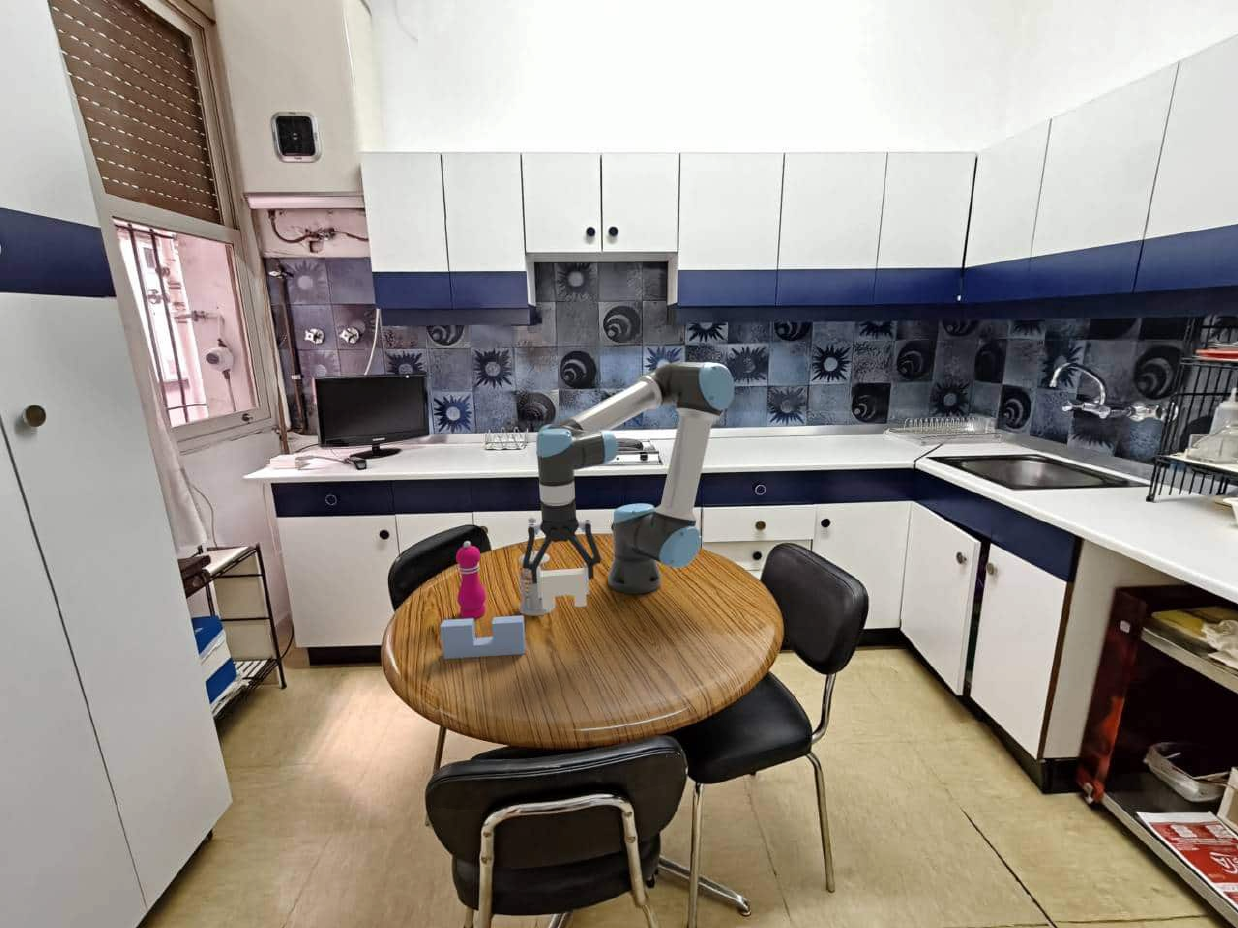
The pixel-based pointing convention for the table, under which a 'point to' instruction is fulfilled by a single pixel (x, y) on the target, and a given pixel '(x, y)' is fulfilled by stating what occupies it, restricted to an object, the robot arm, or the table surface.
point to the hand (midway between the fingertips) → (564, 593)
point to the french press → (531, 586)
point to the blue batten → (464, 644)
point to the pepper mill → (470, 583)
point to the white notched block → (563, 586)
